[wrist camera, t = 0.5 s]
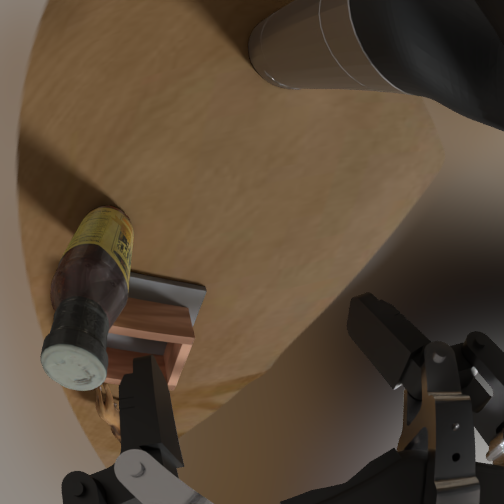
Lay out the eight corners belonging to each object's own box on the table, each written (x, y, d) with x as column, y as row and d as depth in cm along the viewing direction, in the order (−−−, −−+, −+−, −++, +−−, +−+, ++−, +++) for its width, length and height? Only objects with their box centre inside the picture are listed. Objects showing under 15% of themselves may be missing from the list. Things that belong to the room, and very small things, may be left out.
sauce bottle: (130, 257, 31) (127, 411, 15) (80, 249, 28) (37, 398, 12) (139, 204, 29) (129, 345, 12) (85, 195, 26) (13, 326, 10)
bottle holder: (89, 262, 30) (79, 296, 24) (205, 286, 36) (216, 320, 31) (83, 356, 36) (79, 389, 30) (174, 369, 42) (180, 401, 37)
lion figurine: (143, 408, 46) (149, 448, 38) (121, 413, 45) (124, 453, 38) (101, 367, 38) (100, 414, 30) (76, 373, 37) (73, 419, 30)
